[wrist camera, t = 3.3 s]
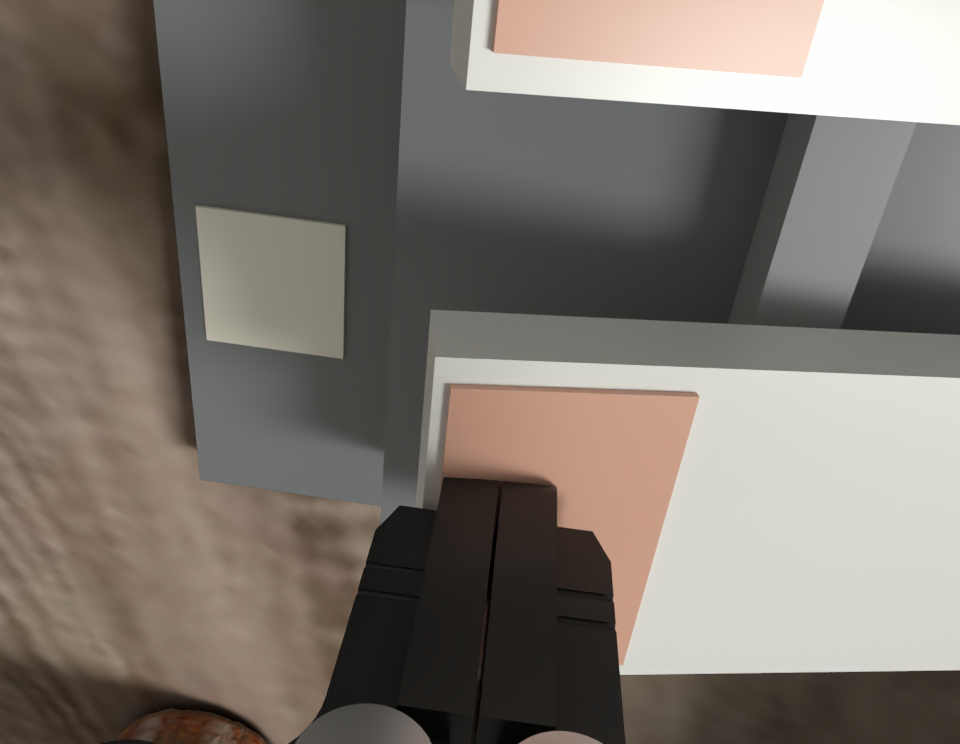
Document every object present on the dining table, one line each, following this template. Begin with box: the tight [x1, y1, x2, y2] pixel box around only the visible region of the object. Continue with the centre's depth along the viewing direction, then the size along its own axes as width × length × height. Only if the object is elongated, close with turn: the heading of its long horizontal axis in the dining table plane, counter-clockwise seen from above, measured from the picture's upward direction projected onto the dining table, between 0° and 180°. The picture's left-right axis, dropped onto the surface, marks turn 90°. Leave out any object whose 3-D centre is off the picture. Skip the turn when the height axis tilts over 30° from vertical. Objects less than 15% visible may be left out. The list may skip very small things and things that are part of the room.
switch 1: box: [415, 310, 960, 675], centre depth 12 cm, size 10×6×1 cm, turn 84°
